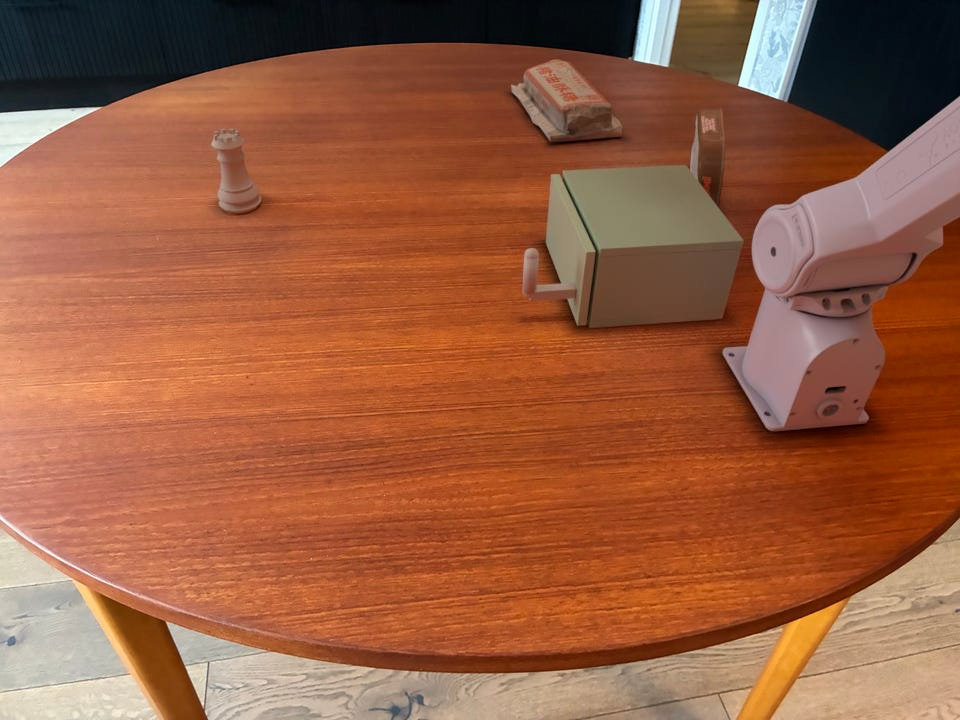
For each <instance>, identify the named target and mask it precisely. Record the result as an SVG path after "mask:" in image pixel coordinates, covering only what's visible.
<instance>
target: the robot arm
mask: <svg viewBox="0 0 960 720" xmlns="http://www.w3.org/2000/svg"><path fill="white" fill-rule="evenodd" d="M958 218H960V95H959V96H958V97H957V98H956V99H954V100H953V101H951V102H950V103H949V104H948V105H947V106H945V107H944V108H942V109H941V110H940V111H939V112H937V114H935V115H933V117H931V118H930V119H929V120H927V121H926V122H925V123H924V124H922V125H921V126H919V127H918V128H917V129H916V130H914V131H913V132H912V133H911V134H909V135H908V136H907V137H906V138H905V139H903V140H902V141H901V142H899V143H898V144H897V145H895V146H894V147H893V148H892V149H890V150H889V151H887V152H886V153H885V154H884V155H883V156H881V157H880V158H879V159H877V160H876V161H875V162H874V163H872V164H871V165H870V166H869V167H867V168H866V169H865V170H864V171H862V172H861V173H859V175H857V176H855V177H853V178H850V179H847V180H845V181H842V182H838V183H836V184H833V185H829V186H827V187H822V188H820V189H817V190H815V191H812V192H811V191H810V192H808V193H806V194H803V195H802V196H800V197H799V198H798V199H797V200H796V201H794V202H792V203H791V204H789V203H784V204H780V203H779V204H775V205H771V206H770V207H768V208H767V209H766V210H765V211H764V212H763V214H762V215H761V216H760V219H759V221H758V223H757V225H756V226H755V229H754V231H753V236H752V242H751V258H752V259H751V260H752V265H753V268H754V271H755V274H756V276H757V278H758V280H759V281H760V283H761V284H762V286H763V287H764V291H763V295H762V297H761V301H760V304H759V307H758V311H757V313H756V316H755V320H754V323H753V327H752V329H751V333H750V337H749V340H748V343H747V345H744V346H743V345H742V346H728V347H724V348H723V349H722V353H721V354H722V356H723V358H724V359H725V361H726V363H727V365H728V366H729V368H730V369H731V371H732V373H733V375H734V377H736V379H737V382H738V383H739V385H740V387H741V388H742V390H743V392H744V393H745V395H746V397H747V398H748V400H749V402H750V403H751V405H752V407H753V408H754V410H755V412H756V413H757V415H758V417H759V418H760V420H761V422H762V423H763V426H764V427H765V428H766V429H767V430H768V431H769V432H782V431H783V432H784V431H794V430H806V429H807V430H808V429H816V428H827V427H828V428H829V427H838V426H839V427H840V426H852V425H863V424H867V422H868V421H869V419H870V417H869V415H868V413H867V411H865V409H864V408H865V406H866V404H867V402H868V400H869V397H870V395H871V394H872V391H873V389H874V387H875V385H876V383H877V380H878V379H879V376H880V374H881V372H882V370H883V367H884V365H885V363H886V350H885V347H884V345H883V343H882V342H881V340H880V338H879V337H878V334H877V331H876V330H875V327H874V322H873V321H874V320H873V305H874V304H875V303H877V302H878V301H883V300H884V299H885V297H886V294H887V293H888V290H889V288H890V286H895V285H899V284H900V285H901V284H902V283H904V282H906V281H907V280H909V279H910V278H911V277H912V276H913V275H914V274H915V273H916V271H917V270H918V268H919V267H920V265H921V263H922V261H923V260H924V259H925V258H926V257H927V256H928V255H929V254H931V253H932V252H934V251H935V250H937V249H939V248H941V247H942V246H943V245H944V227H945V226H946V225H948V224H950V223H951V222H953V221H955V220H957V219H958Z"/></svg>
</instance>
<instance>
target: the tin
mask: <svg viewBox="0 0 960 720" xmlns="http://www.w3.org/2000/svg"><path fill="white" fill-rule="evenodd" d="M723 113H724V112H723V108H721V107H720V108H699V109H697V110H696V114H695V118H694V120H695V130H694V136H693V143H692V145H691V149H690V157H689V170H690V171H691V172H692V174H693V175H694V176H695V178H696V179H697V180H698V181H699V183H700V184H701V185H702V187H703V188H704V189H705V191H706V192H707V193H708V195H709V196H710V197H711V198H712V200H713V201H714V202H715V204H716V205H717V206H718V207H719V204H720V200H721V194H722V187H723V180H724V173H725V160H726V134H725V124H724V114H723Z"/></svg>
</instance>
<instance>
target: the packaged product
mask: <svg viewBox="0 0 960 720" xmlns="http://www.w3.org/2000/svg"><path fill="white" fill-rule="evenodd" d="M522 78H523V83H522V82H521V83H518V84H517V85H514V84H510V88H511V93H512V94H513V95H514V96H515V97H516V98H517V99H518V100H519V102H520V103H521V105H522V106H523V107H524V109H525V111H526V112H527V114H528V116H529V118H530V119H531V122H532V123H533V124H534V125H536V126H537V127H539V128H540V129H541V131H542V132H543V133H544V135H545V136H546V137H547V139H548V140H549V142H550V143H561V142H573V141H574V142H575V141H585V140H596V139H597V140H598V139H607V138H619V137H623V130H624V124H621V121H620V120H619V119H618V118H617V117H616V116H615V115H614V114H613V111H612V110H613V109H612V104H611V103H610V101H608V100H607V99H606V97H605V96H604V95H603V94H601V93H600V91H599V90H598V89H596V87H594V86H593V84H592V83H591V82H590V81H589V80H588V79H587V78H586V77H585V76H584V75H583V74H581V72H580V71H578V69H577V68H576V67H575V66H574V65H573V64H572V62H570V61H565V60H562V59H559V58H558V59H557V58H556V59H552V60H549V61H546V62H544V63H540V64H537V65H534V66H531V67H529V68H527V69H526V70H525V71H524V73H523V76H522Z"/></svg>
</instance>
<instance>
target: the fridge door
mask: <svg viewBox="0 0 960 720" xmlns="http://www.w3.org/2000/svg"><path fill="white" fill-rule="evenodd" d="M548 196H549V197H548V211H547V222H546V232H545V233H546V235H545V244H546V248H547V250H548V252H549V255H550V257H551V261H552V263H553V265H554V268H555V271H556V273H557V276H558V279H559V281H560V283H549V284H547V283H546V284H538V274H539V261H540V253H539V250H538V249H536V248H534V247H529V248H527V249H525V251H524V255H523V270H522V271H523V272H522V285H521V286H522V287H521V293H522V295H523V296H524V297H525V298H528V299H529V301H530V302H538V301H552V300H555V301H556V300H567V303H568V305H569V307H570V310H571V313H572V315H573V318H574V320H575V324H576V326H577V327H579V326H586V325H587V323H588V322H587V315H588V307H589V299H590V292H591V284H592V277H593V269H594V261H595V254H596V251H595V249H594V247H593V245H592V243H591V240H590V238H589V236H588V234H587V232H586V230H585V228H584V226H583V223H582V221H581V219H580V217H579V215H578V213H577V211H576V209H575V206H574V204H573V202H572V200H571V198H570V196H569V194H568V191H567V189H566V187H565V185H564V183H563V181H562V176H561V174H560V173H552V174H550V185H549V195H548Z"/></svg>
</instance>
